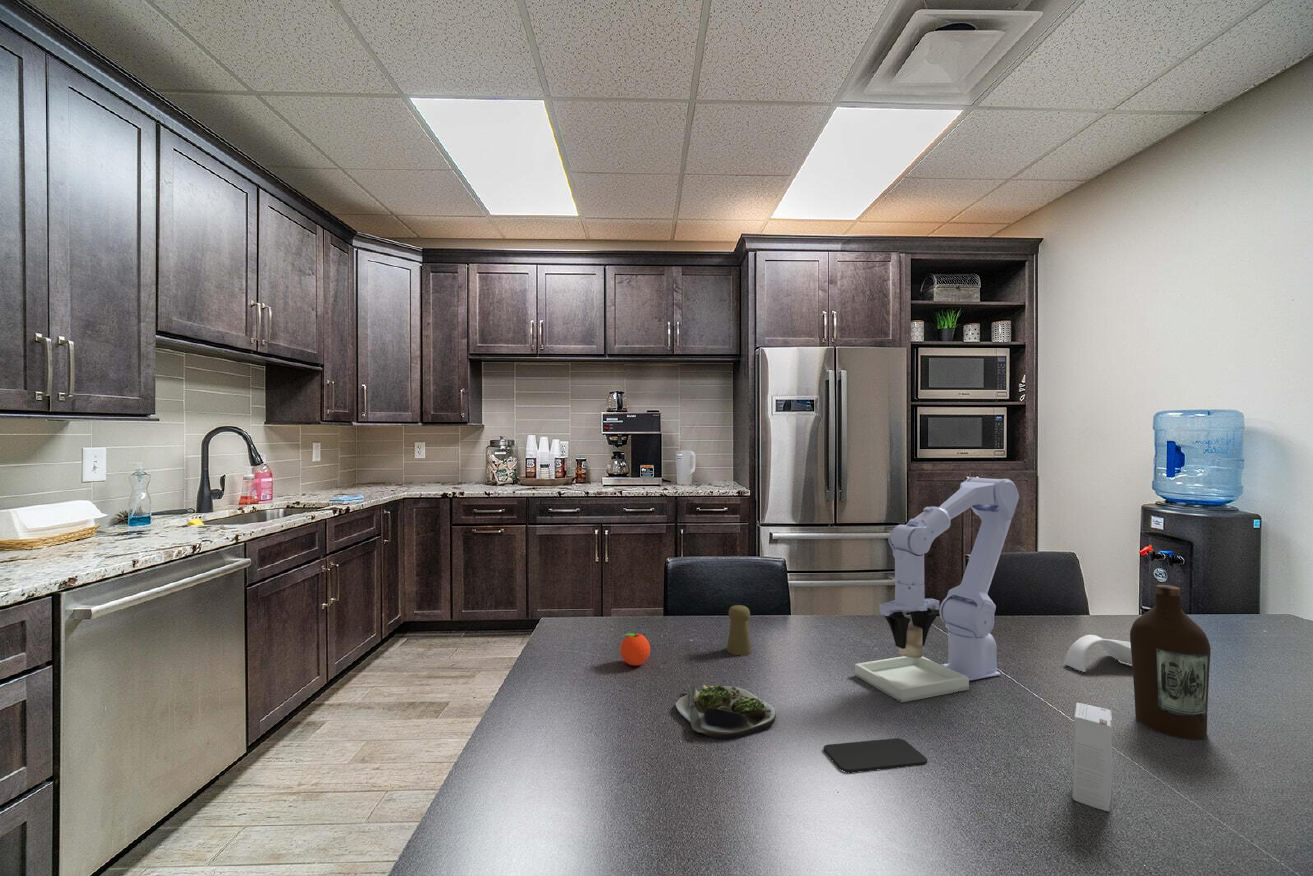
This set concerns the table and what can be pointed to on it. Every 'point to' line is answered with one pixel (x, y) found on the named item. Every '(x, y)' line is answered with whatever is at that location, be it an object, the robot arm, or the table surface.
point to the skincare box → (1092, 756)
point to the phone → (874, 755)
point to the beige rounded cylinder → (913, 642)
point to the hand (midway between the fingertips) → (909, 645)
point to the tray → (911, 678)
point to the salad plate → (725, 711)
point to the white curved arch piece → (1082, 645)
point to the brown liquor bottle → (1170, 668)
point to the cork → (739, 631)
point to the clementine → (635, 649)
